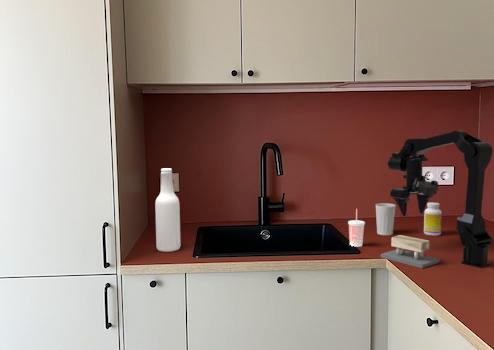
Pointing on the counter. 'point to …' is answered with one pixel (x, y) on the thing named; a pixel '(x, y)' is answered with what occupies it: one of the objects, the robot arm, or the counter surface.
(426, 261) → the peg stand
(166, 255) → the counter surface
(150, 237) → the counter surface
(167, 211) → the white bottle
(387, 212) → the cup
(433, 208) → the supplement bottle
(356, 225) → the beverage cup
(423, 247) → the shelf board
